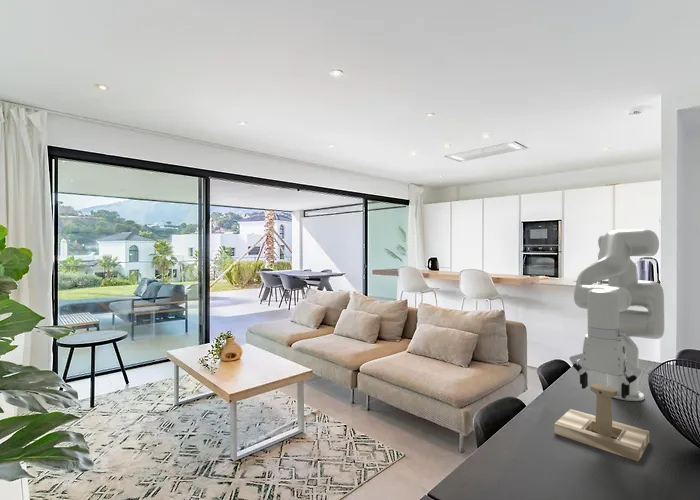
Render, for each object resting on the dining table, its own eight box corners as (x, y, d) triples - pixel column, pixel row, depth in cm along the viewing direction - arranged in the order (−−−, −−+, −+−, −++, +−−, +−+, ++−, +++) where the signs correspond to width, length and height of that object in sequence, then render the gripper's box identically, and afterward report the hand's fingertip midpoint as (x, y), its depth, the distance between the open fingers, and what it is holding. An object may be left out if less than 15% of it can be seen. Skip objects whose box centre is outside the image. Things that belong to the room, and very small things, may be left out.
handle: (613, 447, 102) (613, 393, 102) (587, 437, 108) (587, 386, 107) (620, 441, 105) (620, 389, 105) (594, 432, 111) (594, 382, 110)
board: (570, 418, 120) (570, 408, 120) (649, 441, 105) (649, 430, 105) (554, 433, 110) (554, 423, 110) (638, 461, 96) (638, 449, 96)
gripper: (644, 335, 102) (644, 396, 103) (573, 325, 115) (574, 380, 116) (638, 341, 97) (638, 405, 98) (565, 330, 110) (566, 387, 111)
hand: (603, 391), depth 107 cm, fingers open, 9 cm apart
